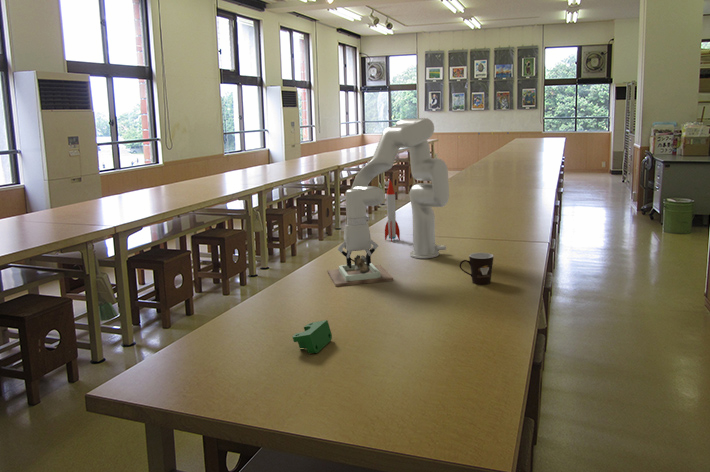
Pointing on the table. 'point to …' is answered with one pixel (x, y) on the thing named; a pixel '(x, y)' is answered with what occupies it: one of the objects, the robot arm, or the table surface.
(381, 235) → the table surface
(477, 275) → the coffee mug
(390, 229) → the toy rocket
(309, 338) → the clamp
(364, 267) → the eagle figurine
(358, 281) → the jig board
